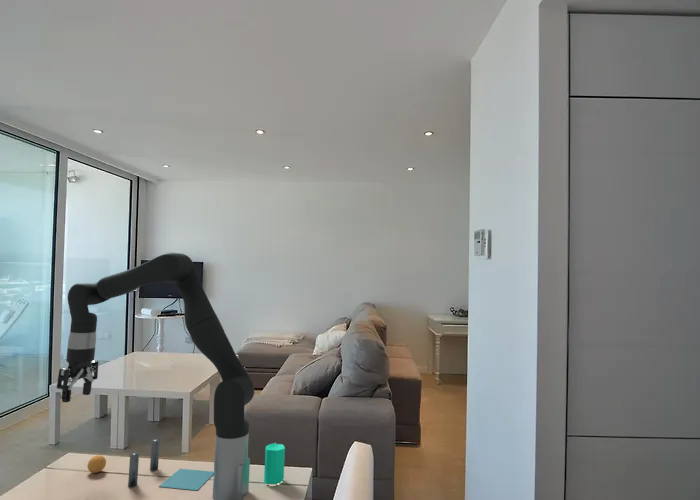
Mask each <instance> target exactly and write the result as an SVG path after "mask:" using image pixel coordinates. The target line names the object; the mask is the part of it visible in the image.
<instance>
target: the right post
mask: <svg viewBox="0 0 700 500" xmlns="http://www.w3.org/2000/svg"><path fill="white" fill-rule="evenodd" d="M160 443H161V440H160V438H154V439H152V440H151V445H150V446H151V447H150V461H149V462H150V463H149V471H152V472H154V471H157V470H159V460H160V459H159V458H160V446H161V445H160Z"/></svg>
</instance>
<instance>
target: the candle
mask: <svg viewBox="0 0 700 500" xmlns="http://www.w3.org/2000/svg"><path fill="white" fill-rule="evenodd" d="M285 451H286V447H285V445H284V444H282V443H277V442H276V441H275V443H270V444H267V445H266V446H265V450H264V452H265V453H264V454H265V456H264V470H263V471H264V473H263V474H264V475H263V477H264V478H263V483H264V482H265V483H267V484H277V483H280V482H281V481H283V479H284V480H285V476H284V475H285V455H286V452H285ZM283 482H284V481H283Z"/></svg>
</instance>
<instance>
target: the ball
mask: <svg viewBox="0 0 700 500" xmlns="http://www.w3.org/2000/svg"><path fill="white" fill-rule="evenodd" d="M106 465H107V459H106V457H104V455H101V454H98V455H93V456H92V457H91V458H90V459H89V460H88V463H87V469H88V471H89V472H90V473H91V474H92V473H93V474H96V473H97V474H98V473H100V472H101V471H103V470H104V469H105V467H106Z"/></svg>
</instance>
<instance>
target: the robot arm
mask: <svg viewBox="0 0 700 500" xmlns="http://www.w3.org/2000/svg"><path fill="white" fill-rule="evenodd" d="M159 283H160V284H161V283H166V284H167V283H168V284H175V287H176V288H177V290H178V291H179V293H180V295H181V297H182V300H183V307H184V308H183V310H184V312H183V313H184V323H185V327H186V330H187V332H188V333H189V336H190V339H191V340H192V342H193V344H194V345H195V346H196V349H198V350H199V351H200V353H201V354H202V355H204V356H205V358H207V359H208V360H209V361H210V362H211V363H212V364H213V366H214V367H215V368H216V370H217V372H218V374H219V376H220V378H221V382H219V383H218V384H217V386H216V387H215V390H214V395H213V424H214V427H215V441H214V442H215V443H214V444H215V446H214V463H213V472H214V474H213V479H212V480H213V481H212V482H213V483H212V499H213V500H243V499H244V498H245V497H246V495H247V493H249V490H250V489H249V488H250V487H249V486H250V469H251V468H250V466H251V458H250V457H248V455H249V434H250V433H249V431H250V423H249V421H248V420H246V419H245V406H247V404H248V403H250V402H251V401H252V399H253V398H254V396H255V385H254V382H253V381H252V380H253V379H252V378H251V377H250V375H249V374H248V372H247V371H246V369H245V367H244V366H243V363H242V362H241V361H240V359H239V358H238V356H237V354H236V352H235V350H234V348H233V346H232V344H231V342H230V340H229V338H228V336H227V333H226V332H225V330H224V327H223V325H222V323H221V321H220V319H219V317H218V315H217V314H216V312H215V310H214V308H213V306H212V304H211V301H210V300H209V297H208V296H207V294H206V292H205V289H204V287H203V285H202V282H201V279H200V277H199V274H198V271H197V269H196V266H195V264H194V262H193V260H192V259H191V258H190V256H188V255H186V254H185V253H179V252H165V253H162V254H160V255H158V256H155V257H154V258H151V259H150V260H149V261H145V262H144V263H141V264H139V265H138V266H135V267H133V268H130V269H126V270H123V271H120V272H116V273H114V274H110V275H107V276H104V277H102V278H101V279H99V280H98V281H97V282H78V283H75V284H73V285H72V286H71V287H70V288H69V290H68V292H67V304H68V310H69V313H70V329H69V335H68V340H67V349H66V358H65V360H66V362H67V363H68V365H67V368H64V367H63V368H62V367H61V368H59V370H58V376H57V383H56V389H57V390H61V391H62V392H61V402H63V403H69V402H71V399H72V398H71V396H72V395H71V394H72V388H73V386H74V385H75V384H76V383H77V382H78V380H81V379H82V380H83V385H82V395H83V396H89V395H91V393H92V392H91V391H92V384H93V382H94V381H95V380H97V379H98V377H99V374H98V373H99V361H97V360H95V355H96V354H95V353H96V345H97V325H98V316H97V314H96V313H94V312H90V310H89V306H94V305H98V304H102V303H104V302H106V301H109V300H111V299H115V298H117V297H121V296H123V295H127V294H129V293H133V291H135V290H137V289H139V288H140V287H143V286H146V285H150V284H159Z"/></svg>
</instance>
